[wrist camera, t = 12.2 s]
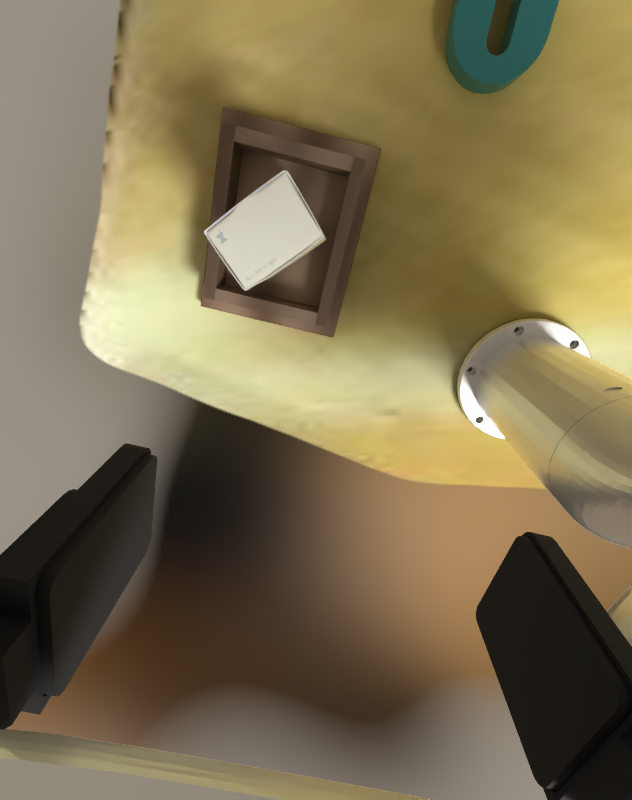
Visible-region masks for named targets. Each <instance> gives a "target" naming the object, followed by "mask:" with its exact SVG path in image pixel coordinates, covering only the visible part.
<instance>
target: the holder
mask: <svg viewBox="0 0 632 800" xmlns="http://www.w3.org/2000/svg"><path fill="white" fill-rule="evenodd" d="M380 151H381V149H380V148H377V147H373V146H369V145H365V144H361V143H358V142H354V141H350V140H346V139H342V138H339V137H335V136H331V135H327V134H323V133H320V132H316V131H312V130H308V129H305V128H301V127H297V126H293V125H289V124H286V123H282V122H278V121H274V120H270V119H267V118H263V117H259V116H255V115H252V114H248V113H244V112H240V111H236V110H233V109H229V108H225V107H223V110H222V119H221V128H220V137H219V146H218V155H217V164H216V173H215V182H214V191H213V200H212V209H211V218H210V226H211V225H212V224H213V223H214V222H216V221H217V220H218V219H219V218H221V217H222V216H223V215H224V214H226V213H227V212H228V211H229V210H230V209H232V208H233V207H234V206H236V205H237V204H238V203H239V202H241V201H242V200H243V199H244V198H246V197H247V196H248V195H250V194H251V193H253V192H254V191H255V190H257V189H258V188H259V187H261V186H262V185H264V184H265V183H266V182H268V181H269V180H270V179H272V178H273V177H275V176H276V175H277V174H279V173H280V172H282V171H283V170H286V171H288V172H289V174H290V175H291V177H292V179H293V181H294V182H295V184H296V186H297V187H298V189H299V191H300V193H301V194H302V196H303V198H304V199H305V201H306V203H307V204H308V206H309V208H310V210H311V211H312V213H313V215H314V217H315V219H316V220H317V222H318V224H319V226H320V228H321V229H322V231H323V233H324V235H325V237H326V239H327V240H326V241H324V242H323V243H322V244H320V245H319V246H317V247H316V248H314V249H313V250H312V251H310V252H309V253H307V254H306V255H304V256H303V257H301V258H300V259H298V260H297V261H295V262H294V263H293V264H291V265H290V266H288V267H286V268H285V269H283V270H282V271H280V272H279V273H277V274H276V275H274V276H273V277H271V278H269V279H267V280H265V281H263V282H261V283H259V284H257V285H255V286H253V287H252V288H250V289H249V290H246V291H245V290H243V289H242V287H241V286H240V284H239V283H238V282H237V280H236V279H235V278H234V276H233V275H232V274H231V272H230V271H229V269H228V268H227V266H226V265H225V263H224V262H223V261H222V259H221V258H220V256H219V255H218V253H217V252H216V250H215V249H214V247H213V246H212V244H211V243H210V241H209V240H208V245H207V254H206V263H205V272H204V281H203V290H202V299H201V306H203V307H207V308H211V309H215V310H219V311H224V312H228V313H232V314H236V315H240V316H245V317H249V318H253V319H257V320H261V321H266V322H270V323H274V324H278V325H282V326H286V327H291V328H295V329H299V330H303V331H307V332H312V333H316V334H320V335H324V336H328V337H333V336H334V332H335V328H336V324H337V321H338V317H339V313H340V309H341V305H342V301H343V297H344V293H345V289H346V285H347V281H348V277H349V273H350V269H351V265H352V261H353V257H354V253H355V249H356V245H357V242H358V238H359V234H360V230H361V226H362V222H363V218H364V214H365V210H366V206H367V202H368V198H369V194H370V190H371V186H372V182H373V178H374V174H375V170H376V166H377V163H378V159H379V155H380Z"/></svg>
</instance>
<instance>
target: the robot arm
mask: <svg viewBox="0 0 632 800" xmlns="http://www.w3.org/2000/svg"><path fill="white" fill-rule="evenodd" d="M516 327H517V330H516V331H514V330H515V328H516ZM570 342H571V343H570ZM470 367H471V369H470V370H468V368H470ZM457 394H458V400H459V403H460V405H461V408H462V410H463V412H464V413H465V415H466V416H467V418H468V419H469V420H470V421H471V423H472V424H473V425H474V426H475V427H477V428H478V429H480V430H481V431H482V432H484V433H487V434H489V435H491V436H494V437H498V438H502V439H506V440H507V441H508V443H509V444H510V445H511V446H512V447H513V449H514V450H515V451H516V452H517V453H518V455H519V456H520V457H521V458H522V459H523V461H524V462H525V463H526V464H527V465H528V467H529V468H530V469H531V470H532V471H533V473H534V474H535V475H536V476H537V477H538V479H539V480H540V481H541V482H542V483H543V485H544V486H545V487H546V488H547V489H548V491H549V492H550V493H551V494H552V495H553V496H554V498H555V499H556V500H557V501H558V502H559V503H560V504H561V506H562V507H563V508H564V509H565V510H566V512H567V513H568V514H569V515H570V516H571V517H572V518H573V519H574V520H575V521H576V522H577V523H579V524H580V525H581V526H582V527H584V528H585V529H586V530H588V531H589V532H591V533H593V534H594V535H596V536H598V537H600V538H602V539H604V540H607V541H609V542H612V543H615V544H618V545H622V546H625V547H629V548H632V378H631V377H629V376H627V375H625V374H623V373H621V372H619V371H617V370H614V369H612V368H610V367H608V366H606V365H604V364H602V363H600V362H598V361H596V360H594V359H592V358H590V354H589V351H588V349H587V347H586V345H585V343H584V342H583V340H582V339H581V338H580V337H579V336H578V335H577V334H576V333H575V332H574V331H572V330H571V329H569V328H568V327H566V326H564V325H562V324H559V323H557V322H554V321H550V320H546V319H536V318H528V319H521V320H516V321H513V322H510V323H506V324H504V325H502V326H500V327H498V328H496V329H494V330H492V331H491V332H489V333H488V334H487V335H485V336H484V337H483V338H481V339H480V340H479V341H478V342H477V343H476V344H475V346H474V347H473V348H472V349H471V350H470V352H469V353H468V355H467V356H466V358H465V360H464V362H463V364H462V366H461V368H460V372H459V376H458V380H457ZM476 417H477V418H476ZM156 468H157V457H156V456H154V455H151V451H150V449H149V448H145V447H141V446H136V445H131V444H124V445H123V446H122V447H121V448H119V450H117V452H115V453H114V455H112V456H111V458H109V459H108V460H107V461H106V462H105V463H104V465H102V466H101V468H99V469H98V470H97V471H96V472H95V473H94V474H93V475H92V476H91V477H90V478H89V479H88V480H87V481H86V482H85V483H84V484H83V485H82V486H81V487H80V488H79V489H78V490H75V489H73V490H70V491H68V492H67V493H65V494H64V495H63V496H62V497H61V498H60V499H59V500H57V501H56V502H55V503H54V504H53V505H52V506H51V507H50V508H49V509H48V510H47V511H46V512H45V513H44V514H43V515H42V516H41V517H40V518H39V519H38V520H37V521H36V522H35V523H33V524H32V525H31V526H30V527H29V528H28V529H27V530H26V531H25V532H24V533H23V534H22V535H21V536H20V537H19V538H18V539H17V540H16V541H15V542H13V543H12V544H11V545H10V546H9V548H7V549H6V550H5V551H4V552H3V553H2V554H1V555H0V800H433V799H428V798H422V797H417V796H411V795H406V794H400V793H395V792H390V791H384V790H378V789H373V788H368V787H362V786H357V785H351V784H346V783H340V782H335V781H329V780H324V779H318V778H313V777H307V776H302V775H296V774H291V773H285V772H279V771H273V770H268V769H263V768H257V767H251V766H245V765H240V764H234V763H229V762H223V761H217V760H211V759H206V758H200V757H194V756H189V755H183V754H178V753H172V752H166V751H160V750H154V749H149V748H142V747H136V746H129V745H123V744H117V743H110V742H104V741H97V740H91V739H85V738H78V737H72V736H64V735H59V734H49V733H39V732H28V731H17V730H8V729H5V728H7V727H9V726H11V725H12V724H13V722H14V721H15V719H16V718H17V716H18V715H19V713H20V712H21V711H24V712H29V713H35V714H40V713H41V712H42V710H43V709H44V707H45V705H46V704H47V702H48V700H49V699H50V697H51V696H59V695H60V694H61V693H62V692H63V691H64V690H65V688H66V687H67V685H68V683H69V682H70V680H71V678H72V677H73V675H74V673H75V672H76V670H77V668H78V667H79V665H80V663H81V662H82V660H83V658H84V657H85V655H86V653H87V652H88V650H89V648H90V646H91V645H92V643H93V641H94V640H95V638H96V636H97V635H98V633H99V631H100V630H101V628H102V626H103V625H104V623H105V621H106V620H107V618H108V616H109V615H110V613H111V611H112V609H113V608H114V606H115V604H116V603H117V601H118V599H119V598H120V596H121V594H122V593H123V591H124V589H125V588H126V586H127V584H128V583H129V581H130V579H131V578H132V576H133V574H134V572H135V570H136V569H137V567H138V566H139V564H140V562H141V561H142V559H143V557H144V555H145V554H146V552H147V550H148V547H149V544H150V540H151V532H152V520H153V519H152V518H153V506H154V494H155V482H156ZM476 619H477V623H478V626H479V629H480V631H481V634H482V637H483V640H484V642H485V645H486V648H487V650H488V653H489V656H490V659H491V661H492V664H493V667H494V670H495V672H496V675H497V678H498V680H499V683H500V686H501V689H502V691H503V694H504V697H505V699H506V702H507V705H508V708H509V710H510V713H511V716H512V718H513V721H514V724H515V727H516V729H517V732H518V735H519V737H520V740H521V743H522V746H523V748H524V751H525V754H526V757H527V759H528V762H529V765H530V768H531V770H532V773H533V775H534V777H535V780H536V781H537V783H538V784H539V785H540V786H541V787H543V789H544V792H545V794H546V797H547V799H548V800H632V584H631V586H630V587H629V588H628V589H627V590H626V591H625V592H624V593H623V595H622V596H621V597H620V598H619V599H618V600H617V601H616V602H615V603H614V604H613V605H612V607H611V608H610V609H609V610H608V611H607V612H606V610H605V609H604V608H603V606H602V605H601V603H600V602H599V601H598V599H597V598H596V597H595V595H594V594H593V593H592V591H591V590H590V588H589V587H588V586H587V584H586V583H585V581H584V580H583V579H582V577H581V576H580V574H579V573H578V572H577V570H576V569H575V567H574V566H573V565H572V563H571V562H570V560H569V559H568V558H567V556H566V555H565V554H564V552H563V551H562V549H561V548H560V547H559V545H558V544H557V542H556V541H555V540H554V539H553V538H552V537H549V536H545V535H540V534H536V533H532V532H526V533H524V534H523V535H522V536H518V537H517V538H516V539H515V541H514V542H513V544H512V546H511V548H510V550H509V551H508V553H507V555H506V557H505V558H504V560H503V562H502V564H501V565H500V567H499V569H498V571H497V573H496V575H495V576H494V578H493V580H492V581H491V583H490V585H489V587H488V589H487V590H486V592H485V594H484V596H483V598H482V599H481V601H480V603H479V605H478V607H477V610H476Z"/></svg>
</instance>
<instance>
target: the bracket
mask: <svg viewBox="0 0 632 800" xmlns="http://www.w3.org/2000/svg"><path fill="white" fill-rule="evenodd" d="M558 1H559V0H513V3H512V7H511V11H510V14H509V18H508V22H507V26H506V30H505V33H504V37H503V41H502V45H501V49H500V52H499V55H492V54H491V53H490V52H489V51H488V49H487V45H486V41H487V36H488V32H489V28H490V24H491V20H492V16H493V12H494V8H495V4H496V0H454V3H453V8H452V12H451V17H450V21H449V26H448V30H447V36H446V57H447V62H448V66H449V68H450V71H451V73H452V75H453V76H454V78H455V79H456V81H457V82H458V83H459V84H460V85H461V86H462V87H464V88H465V89H467V90H469V91H471V92H475V93H480V94H486V93H492V92H496V91H499V90H501V89H503V88H505V87H506V86H508V85H509V84H511V83H512V82H513V81H514V80H515V79H517V78H518V77H519V76H520V75H521V74H522V73H524V72H525V71H526V70H527V69H528V68H529V67H530V66H531V65H532V64H533V63H534V61H535V60H536V59H537V57H538V56H539V54H540V53H541V51H542V49H543V47H544V45H545V43H546V40H547V38H548V35H549V32H550V28H551V25H552V22H553V18H554V15H555V11H556V8H557V5H558Z"/></svg>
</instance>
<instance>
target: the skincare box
mask: <svg viewBox="0 0 632 800" xmlns="http://www.w3.org/2000/svg"><path fill="white" fill-rule="evenodd" d="M204 234H205V235H206V237H207V238H208V240H209V241H210V243H211V244H212V246H213V247H214V249H215V250H216V252H217V253H218V255H219V256H220V258H221V259H222V261H223V262H224V263H225V265H226V266H227V268H228V269H229V271H230V272H231V274H232V275H233V276H234V278H235V279H236V280H237V282H238V283H239V284H240V286H241V287H242V289H243V290H245V291H246V290H249V289H250V288H252V287H253V286H255V285H257V284H259V283H261V282H263V281H265V280H267V279H269V278H271V277H273V276H274V275H276V274H277V273H279V272H280V271H282V270H283V269H285V268H286V267H288V266H290V265H291V264H293V263H294V262H295V261H297V260H298V259H300V258H301V257H303V256H304V255H306V254H307V253H309V252H310V251H312V250H313V249H314V248H316V247H317V246H319V245H320V244H322V243H323V242H324V241H326V240H327V239H326V237H325V235H324V233H323V231H322V229H321V228H320V226H319V224H318V222H317V220H316V219H315V217H314V215H313V213H312V211H311V210H310V208H309V206H308V204H307V203H306V201H305V199H304V198H303V196H302V194H301V193H300V191H299V189H298V187H297V186H296V184H295V182H294V181H293V179H292V177H291V175H290V174H289V172H288V171H286V170H283V171H282V172H280V173H279V174H277V175H276V176H275V177H273V178H272V179H270V180H269V181H268V182H266V183H265V184H264V185H262V186H261V187H259V188H258V189H257V190H255V191H254V192H253V193H251V194H250V195H248V196H247V197H246V198H244V199H243V200H242V201H241V202H239V203H238V204H237V205H236V206H234V207H233V208H232V209H230V210H229V211H228V212H227V213H226V214H224V215H223V216H222V217H221V218H219V219H218V220H217V221H216V222H214V223H213V224H212V225H211V226H209V227H208V228H207V229H205V231H204Z"/></svg>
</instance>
